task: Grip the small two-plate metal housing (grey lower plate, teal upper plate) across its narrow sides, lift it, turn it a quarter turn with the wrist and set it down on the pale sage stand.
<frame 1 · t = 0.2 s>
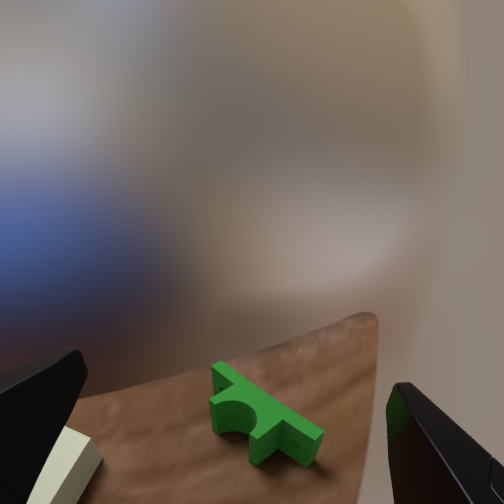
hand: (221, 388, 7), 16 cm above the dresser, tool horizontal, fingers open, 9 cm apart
pipe clamp: (249, 437, 23), on the dresser
sage stand: (41, 478, 14), on the dresser
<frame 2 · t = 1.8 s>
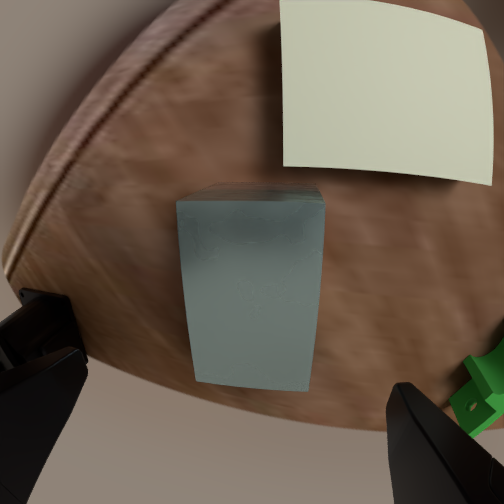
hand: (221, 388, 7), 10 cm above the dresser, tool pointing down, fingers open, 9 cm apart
pipe clamp: (495, 344, 17), on the dresser
sage stand: (382, 93, 13), on the dresser
housing: (266, 255, 17), on the dresser
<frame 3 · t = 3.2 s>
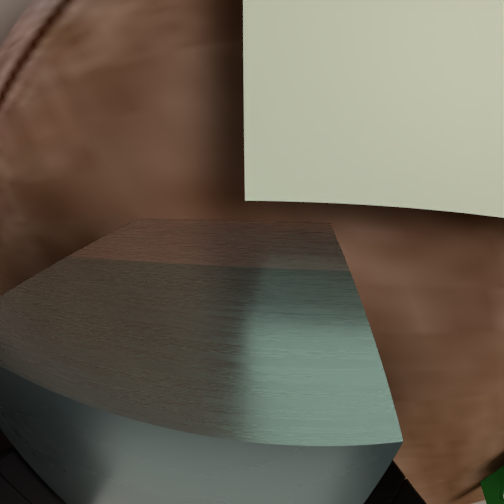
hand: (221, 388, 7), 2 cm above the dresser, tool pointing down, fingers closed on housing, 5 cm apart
sage stand: (456, 46, 5), on the dresser
housing: (232, 353, 9), on the dresser, touching gripper
when the fingers open (6 cm above the dresser, at t = 7.4 s): housing drops 1 cm, resting on sage stand.
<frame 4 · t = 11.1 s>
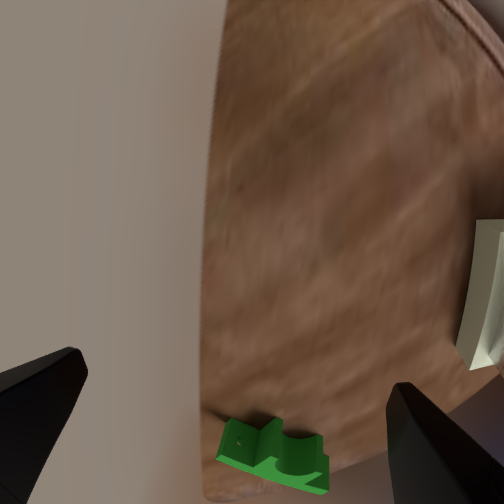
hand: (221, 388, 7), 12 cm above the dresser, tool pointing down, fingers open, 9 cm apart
pipe clamp: (288, 435, 25), on the dresser
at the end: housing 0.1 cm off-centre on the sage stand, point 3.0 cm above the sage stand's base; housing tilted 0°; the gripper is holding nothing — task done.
